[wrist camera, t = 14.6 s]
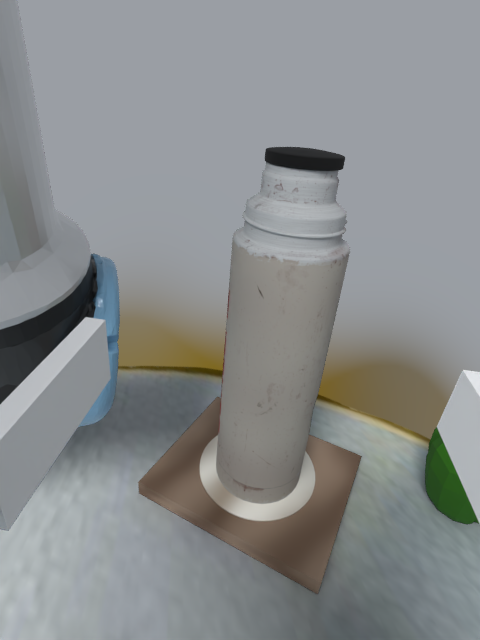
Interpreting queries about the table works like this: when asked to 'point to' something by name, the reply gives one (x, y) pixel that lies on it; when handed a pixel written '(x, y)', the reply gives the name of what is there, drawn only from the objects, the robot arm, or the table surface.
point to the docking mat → (251, 518)
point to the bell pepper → (446, 483)
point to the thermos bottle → (279, 321)
